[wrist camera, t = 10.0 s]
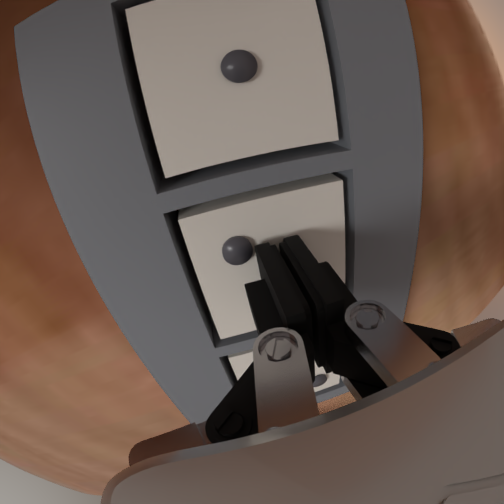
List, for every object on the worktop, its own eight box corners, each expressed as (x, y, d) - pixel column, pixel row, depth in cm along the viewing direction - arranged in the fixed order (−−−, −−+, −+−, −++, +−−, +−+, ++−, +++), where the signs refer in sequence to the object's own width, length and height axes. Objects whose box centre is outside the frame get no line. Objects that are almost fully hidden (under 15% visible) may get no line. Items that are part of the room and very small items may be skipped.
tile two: (179, 200, 11) (177, 222, 9) (320, 166, 12) (345, 181, 10) (215, 310, 14) (221, 342, 13) (328, 279, 15) (346, 305, 13)
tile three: (223, 330, 15) (228, 361, 13) (328, 299, 16) (345, 325, 14) (245, 387, 18) (251, 413, 17) (328, 361, 19) (340, 385, 17)
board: (47, 37, 7) (13, 26, 4) (358, -18, 8) (395, -34, 6) (195, 399, 20) (199, 433, 17) (370, 346, 21) (387, 374, 18)
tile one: (135, 23, 7) (124, 7, 6) (291, -2, 8) (313, -19, 6) (169, 165, 11) (165, 180, 9) (316, 132, 11) (341, 141, 9)
